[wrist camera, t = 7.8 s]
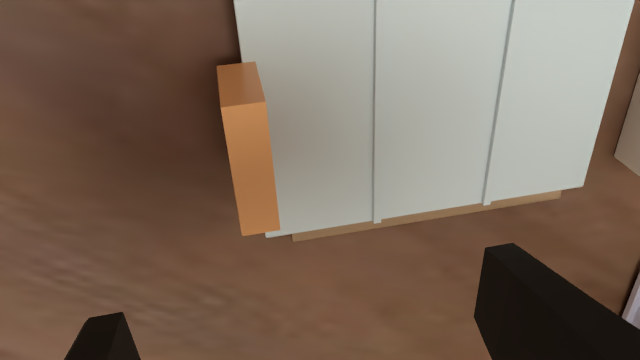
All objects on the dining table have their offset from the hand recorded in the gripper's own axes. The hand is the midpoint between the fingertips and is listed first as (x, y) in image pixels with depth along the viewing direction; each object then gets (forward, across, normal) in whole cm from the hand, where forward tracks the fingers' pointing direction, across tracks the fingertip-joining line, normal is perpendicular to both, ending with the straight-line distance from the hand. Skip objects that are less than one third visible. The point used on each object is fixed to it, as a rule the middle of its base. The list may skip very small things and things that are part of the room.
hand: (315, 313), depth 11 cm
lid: (+10, -6, 0) cm, 11 cm away
